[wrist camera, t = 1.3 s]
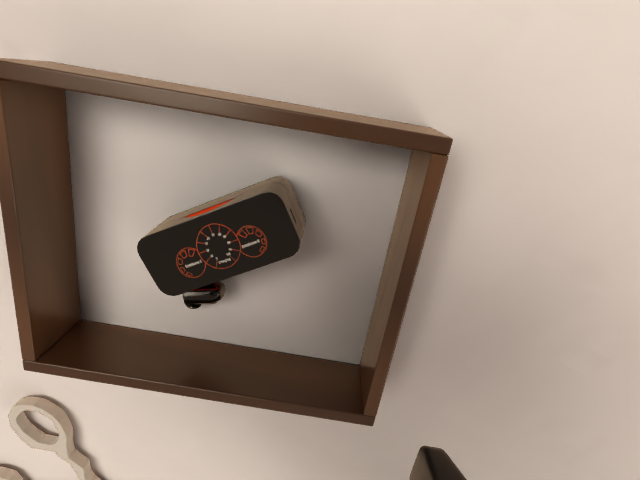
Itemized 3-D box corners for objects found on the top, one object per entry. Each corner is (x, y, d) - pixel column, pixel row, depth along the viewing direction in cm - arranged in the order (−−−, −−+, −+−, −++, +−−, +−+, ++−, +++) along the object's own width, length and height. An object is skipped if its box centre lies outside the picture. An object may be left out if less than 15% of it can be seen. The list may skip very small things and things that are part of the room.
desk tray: (368, 375, 22) (373, 427, 19) (70, 327, 22) (23, 370, 18) (432, 127, 17) (453, 138, 14) (49, 61, 17) (-22, 56, 13)
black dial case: (149, 222, 19) (114, 248, 16) (287, 169, 18) (276, 187, 15) (195, 302, 21) (169, 340, 18) (324, 259, 19) (322, 291, 16)
